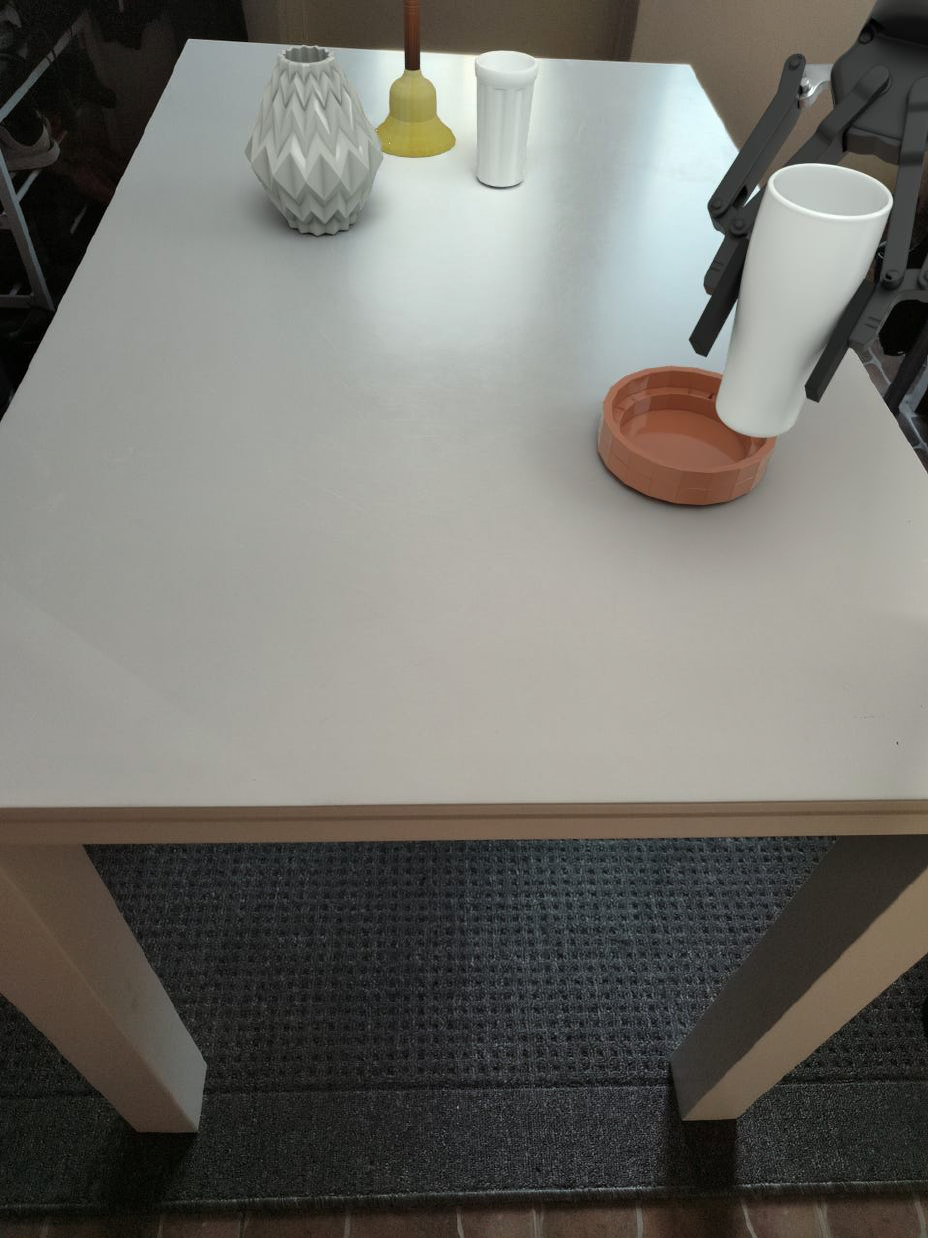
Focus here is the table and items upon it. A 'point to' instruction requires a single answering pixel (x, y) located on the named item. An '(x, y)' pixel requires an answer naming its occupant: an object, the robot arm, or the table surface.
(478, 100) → the cup
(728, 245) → the robot arm
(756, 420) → the drinking glass
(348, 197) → the vase
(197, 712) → the table surface
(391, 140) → the handbell
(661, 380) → the bowl
